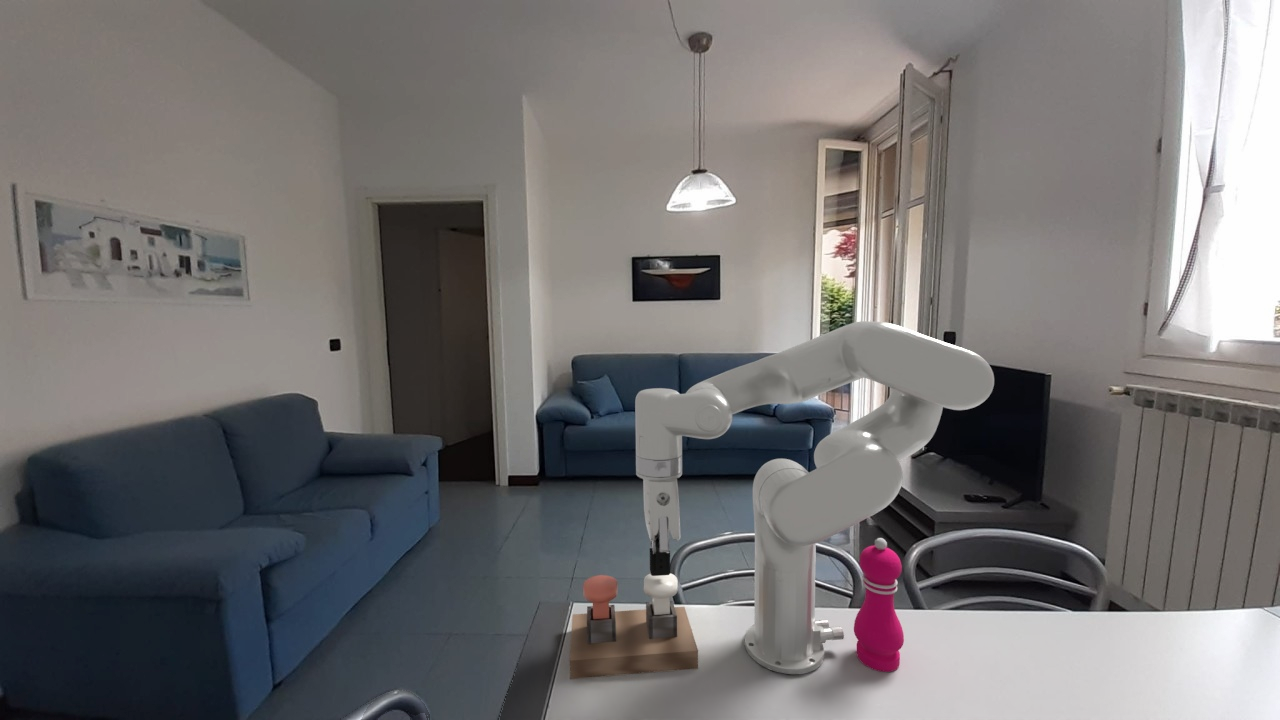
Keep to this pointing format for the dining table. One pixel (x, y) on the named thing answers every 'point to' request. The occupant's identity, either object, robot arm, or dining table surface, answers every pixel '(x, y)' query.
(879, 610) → the pepper mill
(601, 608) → the red button
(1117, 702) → the dining table surface
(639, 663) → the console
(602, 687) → the dining table surface
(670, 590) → the cream button
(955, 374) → the robot arm
